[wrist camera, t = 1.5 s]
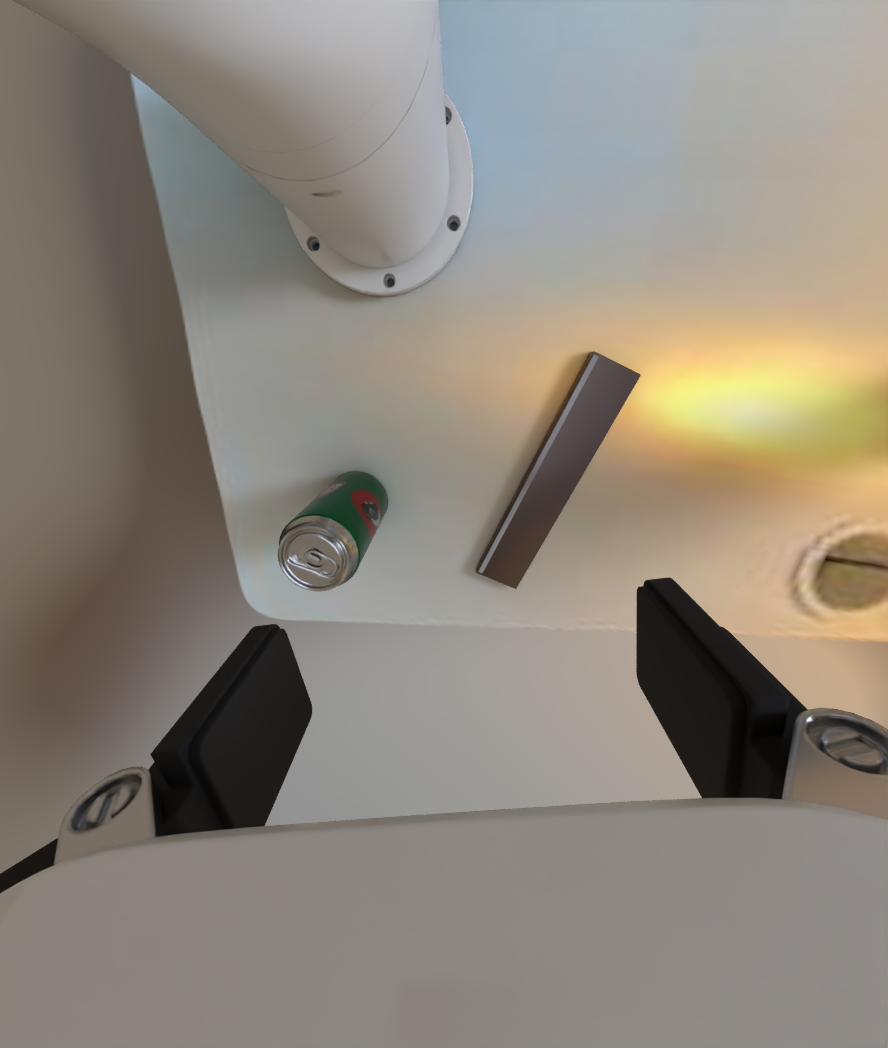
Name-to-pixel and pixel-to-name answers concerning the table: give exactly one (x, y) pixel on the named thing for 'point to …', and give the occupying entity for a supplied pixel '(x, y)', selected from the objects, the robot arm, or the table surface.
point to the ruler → (557, 467)
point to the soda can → (333, 532)
